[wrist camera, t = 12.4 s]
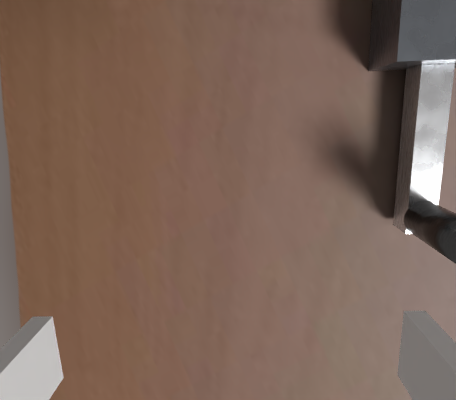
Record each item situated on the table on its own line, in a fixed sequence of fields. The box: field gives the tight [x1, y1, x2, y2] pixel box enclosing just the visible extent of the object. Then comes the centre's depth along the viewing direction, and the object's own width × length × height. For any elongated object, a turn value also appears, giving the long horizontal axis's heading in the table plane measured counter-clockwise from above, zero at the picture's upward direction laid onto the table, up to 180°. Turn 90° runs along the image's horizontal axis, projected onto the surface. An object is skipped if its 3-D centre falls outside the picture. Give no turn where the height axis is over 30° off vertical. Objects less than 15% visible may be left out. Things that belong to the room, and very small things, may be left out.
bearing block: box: [368, 0, 456, 71], centre depth 38 cm, size 10×12×8 cm
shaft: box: [393, 63, 456, 263], centre depth 37 cm, size 26×4×14 cm, turn 2°
